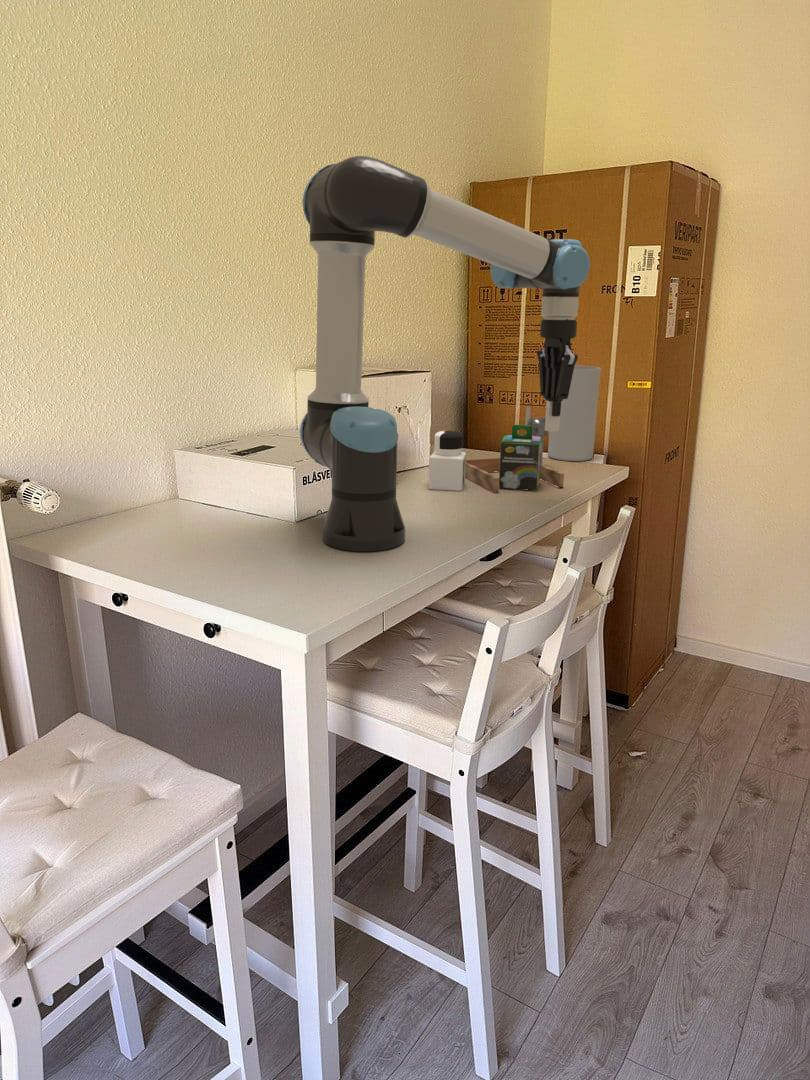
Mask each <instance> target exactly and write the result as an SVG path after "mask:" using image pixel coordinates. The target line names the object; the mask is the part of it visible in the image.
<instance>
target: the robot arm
mask: <svg viewBox="0 0 810 1080" xmlns="http://www.w3.org/2000/svg"><path fill="white" fill-rule="evenodd" d="M302 211H303V215H304V217H305V220H306V222H307V223H308V225H309V245H310V246H311V248H313V250H314V251H315V252H316V253H317V288H316V289H317V296H316V297H317V298H316V299H317V300H316V301H317V302H316V303H317V304H316V348H315V349H316V353H315V354H316V355H315V357H316V359H315V362H316V363H315V367H316V368H315V388H314V390H313V391H312V392H311V393H310V394H309V395H308V396H307V408H306V409H307V410H306V411H307V412H306V413H305V415H304V416H303V418H302V420H301V422H300V423H301V424H300V427H299V437H300V441H301V445H302V447H303V449H304V450H305V452H306V453H307V454H308V456H309V457H310V458H312V460H314V462H316V463H317V464H319V465H321V466H323V467H326V468H328V469H329V470H330V471H331V500H330V503H329V507H328V510H327V513H326V516H325V519H324V523H323V526H322V541H323V543H324V544H325V545H327V546H329V547H332V548H335V549H339V550H344V551H351V552H377V551H385V550H390V549H393V548H396V547H399V546H402V545H403V543H405V542H406V541H405V540H406V527H405V523H404V521H403V518H402V514H401V510H400V507H399V504H398V501H397V472H398V471H397V470H398V467H397V466H398V440H399V433H398V427H397V426H398V425H397V424H398V423H397V419H396V418H395V416H394V415H393V414H391V413H390V412H388V411H386V410H384V409H379V408H374V407H370V406H369V401H370V400H369V398H368V397H367V396H366V395H365V394H364V392H363V391H362V377H363V376H362V373H363V371H362V369H363V346H364V345H363V342H364V340H363V339H364V318H365V317H364V314H365V311H364V309H365V308H364V307H365V286H366V285H365V284H366V281H365V280H366V257H367V256H368V254H370V253H371V252H372V251H373V250H374V249H375V239H376V238H375V237H376V232H385V233H388V234H389V233H390V234H393V235H397V236H398V237H402V238H404V239H408V238H409V237H411V236H413V235H415V236H417V237H420V238H422V239H425V240H428V241H430V242H433V243H435V244H438V245H441V246H444V247H446V248H449V249H451V250H454V251H456V252H459V253H462V254H464V255H467V256H470V257H473V258H475V259H477V260H480V261H483V262H485V263H488V264H490V277H491V280H492V282H493V284H494V286H496V287H497V288H500V289H501V288H502V289H507V290H511V289H541V290H542V291H541V292H542V294H541V295H542V297H541V311H540V316H541V317H543V319H541V321H540V328H539V330H540V331H539V336H540V337H541V338H543V339H545V341H544V343H543V349H542V350H537V352H536V356H537V359H538V369H539V370H538V371H539V372H538V373H539V388H540V395H541V396H542V397H543V396H544V400H545V401H546V402H545V417H544V418H545V431H548V432H549V431H559V423H560V411H561V401H563V400H564V399H567V398H568V395H569V390H570V385H571V380H572V375H573V370H574V366H575V365H576V363H577V361H578V354H575V353H574V354H573V353H572V343H571V339H575V338H576V337H577V331H578V329H577V328H578V322H577V320H576V319H575V318H577V317H578V313H579V312H578V311H579V297H580V287H581V285H582V284H584V283H585V281H587V278H588V276H589V274H590V269H591V261H590V256H589V254H588V252H587V251H586V249H585V248H583V245H582V242H580V240H578V239H572V238H571V239H567V238H565V239H564V238H562V239H561V238H560V239H559V238H557V239H556V238H555V239H554V238H553V239H548V238H546V237H543V236H541V235H540V234H536V233H533V232H532V231H529V230H527V229H525V228H523V227H520V226H517V225H516V224H513V223H511V222H508V221H506V220H505V219H502V218H498V217H496V216H494V215H492V214H490V213H487V212H485V211H483V210H481V209H478V208H476V207H473V206H471V205H469V204H467V203H463V202H462V201H459V200H457V199H455V198H452V197H450V196H447V195H446V194H442V193H440V192H438V191H436V190H433V189H431V188H430V187H429V184H428V181H427V180H426V178H425V179H424V178H423V177H421V176H417V175H415V174H414V173H411V172H408V171H407V170H405V169H402V168H400V167H398V166H396V165H393V164H391V163H388V162H385V161H383V160H381V159H379V158H375V157H371V156H364V155H356V156H355V155H354V156H351V157H348V158H346V159H343V160H341V161H339V162H337V163H332V164H327V165H326V166H323V167H322V168H320V169H319V170H318V171H317V172H316V173H315V174H314V175H313V176H312V177H311V178H310V179H309V180H308V182H307V184H306V186H305V189H304V191H303V196H302Z"/></svg>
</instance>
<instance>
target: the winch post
mask: <svg viewBox="0 0 810 1080" xmlns="http://www.w3.org/2000/svg"><path fill="white" fill-rule="evenodd" d="M531 408H532V407H531V406H526V411H525V424H524V425H531V426H532V428H533V430H532V436H542V450H541V465H543V456H544V455H543V453H544V441H545V437H547V434H548V433H549V431H545V417H531V410H532V409H531ZM525 434H527V431H526V430H525Z"/></svg>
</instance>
